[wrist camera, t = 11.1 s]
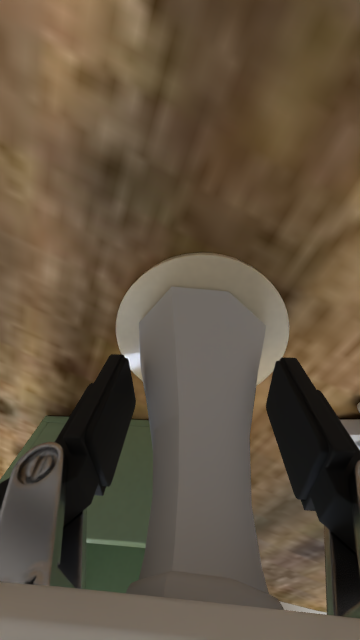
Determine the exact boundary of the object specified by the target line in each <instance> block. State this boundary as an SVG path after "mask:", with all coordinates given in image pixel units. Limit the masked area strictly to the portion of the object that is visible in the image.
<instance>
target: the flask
mask: <svg viewBox="0 0 360 640" xmlns="http://www.w3.org/2000/svg"><path fill="white" fill-rule="evenodd" d="M265 330H266V325H265V324H264V323H263V322H262V321H260V320H259V319H258V318H257V317H256V316H255V315H254V314H253V313H252V312H251V311H249V310H248V309H247V308H246V307H245V306H244V305H243V304H242V303H241V302H240V301H238V300H237V299H236V298H235V297H234V296H233V295H232V294H231V293H230V292H228V291H217V290H205V289H194V288H183V287H171V288H170V289H169V290H168V291H167V292H166V293H165V294H164V296H163V297H162V298H161V299H160V300H159V301H158V302H157V303H156V304H155V306H154V307H153V308H152V309H151V310H150V311H149V312H148V313H147V315H146V316H145V317H144V318H143V319H142V320H141V321H140V322H139V343H140V367H141V374H142V379H143V385H144V390H145V395H146V401H147V409H148V416H149V424H150V432H151V439H152V447H153V497H152V504H151V512H150V519H149V526H148V533H147V540H146V547H145V554H144V559H143V563H142V567H141V571H140V576H139V580H138V581H135V582H133V583H131V584H130V586H129V587H128V589H127V591H126V593H127V594H137V595H147V596H156V597H166V598H175V599H185V600H194V601H204V602H213V603H222V604H232V605H241V606H251V607H260V608H269V609H278V610H284V609H283V607H282V605H281V604H280V602H279V600H278V599H277V598H275V597H273V596H271V595H269V593H268V589H267V585H266V582H265V578H264V574H263V570H262V566H261V560H260V554H259V548H258V542H257V536H256V530H255V524H254V517H253V511H252V505H251V469H250V429H251V422H252V414H253V406H254V399H255V391H256V384H257V376H258V370H259V364H260V359H261V354H262V348H263V343H264V337H265Z"/></svg>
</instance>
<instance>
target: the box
mask: <svg viewBox="0 0 360 640" xmlns="http://www.w3.org/2000/svg"><path fill="white" fill-rule="evenodd" d="M68 419H69V417H62V416H45V418H44V419H43V420H42V422H41V423H40V425H39V426H38V427H37V429H36V430H35V432H34V433H33V434H32V436H31V437H30V439H29V440H28V441H27V443H26V444H25V446H24V447H23V448H22V450H21V451H20V453H19V454H18V455H17V457H16V458H15V460H14V461H13V462H12V464H11V465H10V467H9V468H8V469H7V471H6V472H5V474H4V475H3V476H2V478H1V479H0V483H1V482H3V481H5V480H6V479H8V478H9V477H10V476H11V473H12V471H13V468H14V466H15V464H16V463H17V462H18V460H19V459H20V458H21V457H22V456H23V455H24V454H25V453H26V452H27V451H29V450H30V449H32V448H33V447H35V446H37V445H39V444H42V443H45V442H55V440H56V439H57V437H58V435H59V434H60V432H61V430H62V429H63V427H64V425H65V424H66V422H67V420H68ZM152 497H153V447H152V439H151V432H150V424H149V420H132V419H131V422H130V425H129V428H128V431H127V435H126V438H125V441H124V444H123V448H122V451H121V454H120V458H119V461H118V464H117V467H116V471H115V474H114V477H113V480H112V483H111V485H110V486H109V487H108V486H106V489H105V492H104V495H103V496H98V495H94V497H93V500H92V503H91V505H89V506H88V507H87V540H86V589H87V590H97V591H107V592H117V593H126V591H127V589H128V587H129V586H130V584H131V583H133V582H135V581H138V580H139V576H140V571H141V567H142V563H143V559H144V554H145V547H146V540H147V533H148V526H149V519H150V512H151V504H152Z"/></svg>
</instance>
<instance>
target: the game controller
mask: <svg viewBox="0 0 360 640" xmlns="http://www.w3.org/2000/svg"><path fill="white" fill-rule="evenodd" d="M357 408H358V410H359V412H360V402H359V403H358V405H357ZM340 421H341V423H342V424H343V426H344V427H345V429H346V430H347V432H348V433H349V435H350V436H351V438H352V439H353V441H354V442H355V444H356V445H357V447H358V448H359V450H360V419H357V420H340Z"/></svg>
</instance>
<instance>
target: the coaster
mask: <svg viewBox="0 0 360 640" xmlns="http://www.w3.org/2000/svg"><path fill="white" fill-rule="evenodd" d="M171 287H183V288H194V289H205V290H217V291H228V292H230V293H231V294H232V295H233V296H234V297H235V298H236V299H237V300H238V301H240V302H241V303H242V304H243V305H244V306H245V307H246V308H247V309H248V310H249V311H251V312H252V313H253V314H254V315H255V316H256V317H257V318H258V319H259V320H260V321H262V322H263V323H264V324H265V325H266V330H265V337H264V343H263V348H262V354H261V359H260V364H259V370H258V376H257V384H256V386H257V385H258V384H260V383H261V382H262V381H263V380H265V379H266V378H267V377H268V376H269V375H270V374H271V373H272V372H273V370H274V367H275V363H276V361H280V359H281V358H282V357H283V355H284V353H285V350H286V347H287V343H288V338H289V318H288V312H287V310H286V307H285V304H284V301H283V300H282V298H281V296H280V294H279V292H278V291H277V290H276V288H275V287H274V286H273V284H272V283H271V282H270V281H269V280H268V279H267V278H266V277H265V276H264V275H263V274H262V273H261V272H259V271H258V270H256V269H255V268H254V267H252V266H251V265H249V264H247V263H245V262H243V261H241V260H239V259H236V258H233V257H230V256H227V255H221V254H216V253H202V252H200V253H188V254H183V255H179V256H175V257H172V258H169V259H167V260H164V261H162V262H160V263H158V264H156V265H154V266H152V267H151V268H150V269H148V270H147V271H146V272H144V273H143V274H142V275H141V276H140V277H139V278H138V279H137V280H136V281H135V282H134V283H133V285H132V286H131V287H130V289H129V290H128V291H127V293H126V294H125V296H124V298H123V300H122V302H121V304H120V307H119V310H118V313H117V319H116V337H117V343H118V346H119V350H120V352H121V354H122V355H124V357H125V358H128V360H129V365H130V369H131V370H132V372H133V373H134V374H135V375H136V376H137V377H138V378H139V379H140V380H142V381H143V379H142V374H141V367H140V343H139V322H140V321H141V320H142V319H143V318H144V317H145V316H146V315H147V313H148V312H149V311H150V310H151V309H152V308H153V307H154V306H155V304H156V303H157V302H158V301H159V300H160V299H161V298H162V297H163V296H164V294H165V293H166V292H167V291H168V290H169V289H170V288H171Z"/></svg>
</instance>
